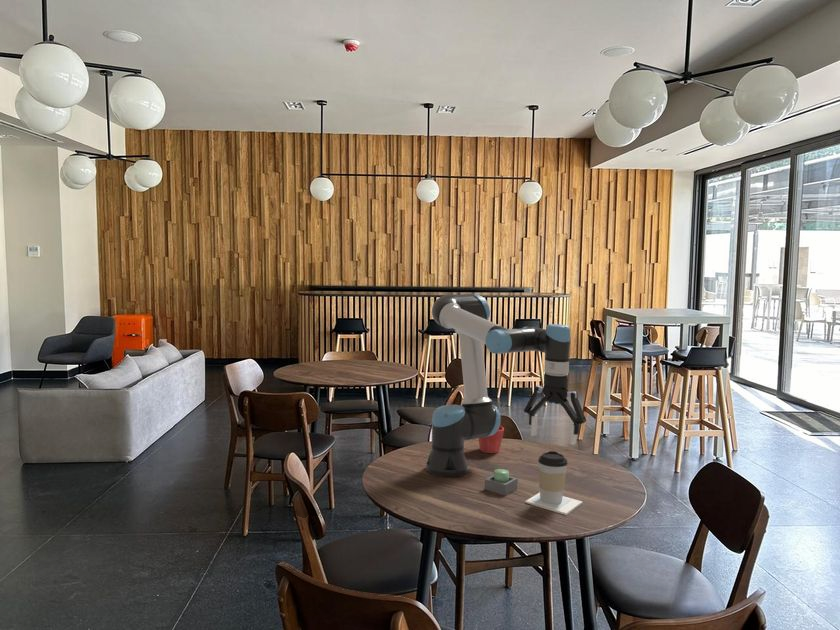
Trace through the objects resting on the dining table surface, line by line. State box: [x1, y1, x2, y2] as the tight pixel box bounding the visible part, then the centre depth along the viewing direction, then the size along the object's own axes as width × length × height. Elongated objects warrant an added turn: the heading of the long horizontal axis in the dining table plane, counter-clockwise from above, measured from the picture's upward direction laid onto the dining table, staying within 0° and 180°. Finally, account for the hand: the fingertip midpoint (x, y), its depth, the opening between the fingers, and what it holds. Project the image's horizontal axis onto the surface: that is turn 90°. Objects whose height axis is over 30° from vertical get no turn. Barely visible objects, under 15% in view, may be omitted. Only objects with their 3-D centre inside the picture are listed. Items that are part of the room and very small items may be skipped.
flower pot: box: [477, 425, 505, 454], centre depth 243 cm, size 11×11×10 cm
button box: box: [484, 474, 519, 496], centre depth 202 cm, size 8×8×4 cm
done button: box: [493, 468, 510, 483], centre depth 202 cm, size 5×5×4 cm
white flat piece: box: [524, 491, 583, 516], centre depth 192 cm, size 14×12×1 cm
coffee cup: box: [537, 450, 568, 504], centre depth 192 cm, size 9×9×15 cm
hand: (553, 439), depth 191 cm, fingers open, 13 cm apart
